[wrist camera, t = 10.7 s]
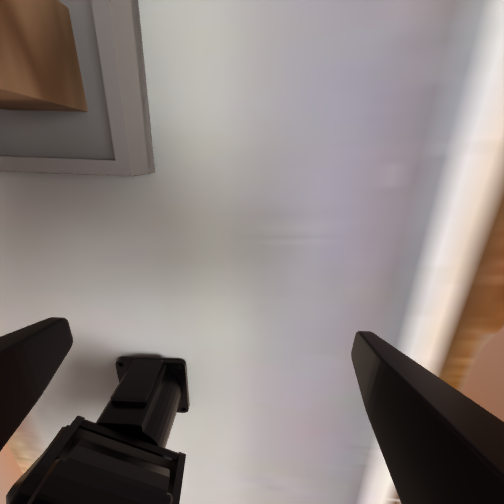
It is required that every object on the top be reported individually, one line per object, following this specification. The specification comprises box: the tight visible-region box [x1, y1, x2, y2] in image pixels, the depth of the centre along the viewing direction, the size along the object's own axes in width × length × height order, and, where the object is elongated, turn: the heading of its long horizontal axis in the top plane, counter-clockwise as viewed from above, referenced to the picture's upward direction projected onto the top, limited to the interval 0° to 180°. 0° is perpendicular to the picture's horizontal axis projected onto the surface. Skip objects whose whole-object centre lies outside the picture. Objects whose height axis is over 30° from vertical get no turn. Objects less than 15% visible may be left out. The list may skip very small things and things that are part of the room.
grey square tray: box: [0, 0, 155, 176], centre depth 14 cm, size 12×12×4 cm
